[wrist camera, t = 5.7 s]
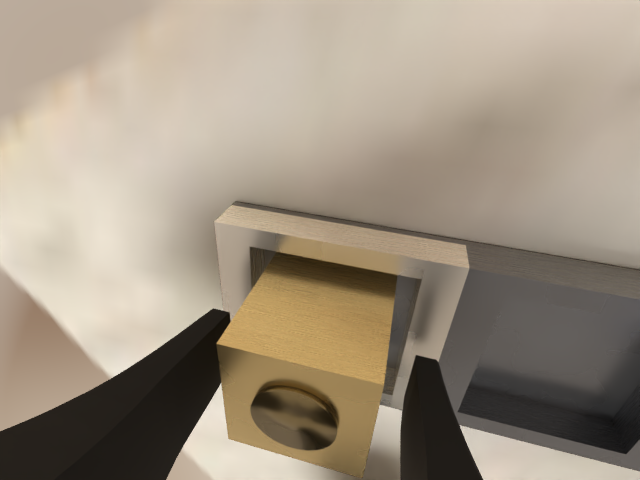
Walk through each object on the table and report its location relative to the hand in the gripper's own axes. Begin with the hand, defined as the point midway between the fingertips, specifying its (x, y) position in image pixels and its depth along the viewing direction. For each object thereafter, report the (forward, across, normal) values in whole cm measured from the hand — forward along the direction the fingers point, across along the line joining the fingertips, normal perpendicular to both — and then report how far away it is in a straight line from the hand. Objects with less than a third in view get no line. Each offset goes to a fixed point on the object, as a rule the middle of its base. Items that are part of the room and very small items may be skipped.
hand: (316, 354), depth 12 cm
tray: (+3, -4, 0) cm, 5 cm away
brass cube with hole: (+3, 0, 0) cm, 3 cm away
